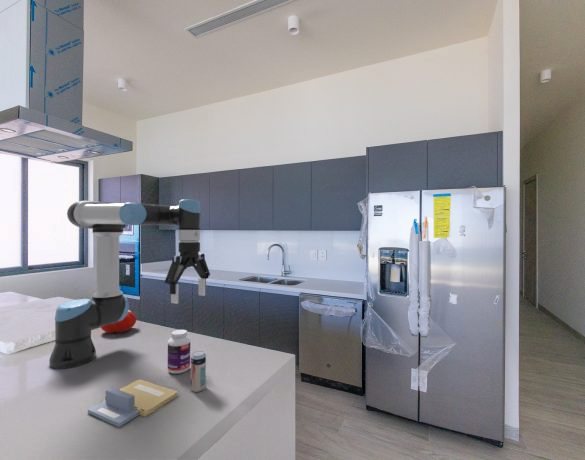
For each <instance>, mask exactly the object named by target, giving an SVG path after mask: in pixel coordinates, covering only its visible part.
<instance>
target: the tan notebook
mask: <svg viewBox="0 0 585 460" xmlns="http://www.w3.org/2000/svg"><path fill="white" fill-rule="evenodd" d="M118 390H121V391H124V392H126V393H129V394H132V395H134V396H135V410H137V411H139V415H140V416H142V417H144V418H145V417H147V416H149V415H150V414H152V413H153V412H155V411H156V410H157V409H159V408H161V407H162V406H165V404H167V403H168V402H170V401H171V400H173V399H175V398H176V397H178V396H179V394H178V391H177V390H173V389H171V388H168V387H164V386H160V385H158V384H156V383H152V382H149V381H146V380H144V379H136V380H135V381H132V382H130V383H129V384H127V385H125V386H124V387H120V389H118ZM105 400H106V395H105V396H104V401H105ZM139 415H138V416H139Z"/></svg>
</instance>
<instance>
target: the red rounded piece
mask: <svg viewBox="0 0 585 460" xmlns="http://www.w3.org/2000/svg"><path fill="white" fill-rule="evenodd" d="M136 323H137V317H136V315H135V314H134V313H133V312H132V311H129V310H128V314H127V315H126V317H125V318H124V319H123V320H121V321H119V322H116V323H114V324H109V325H106V326H102V327H100V329H101V330H102V331H103V332H106V333H109V334H114V333H123V332H126V331H127V330H130V329H131V328H133V327H134V326H135V325H136Z"/></svg>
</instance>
